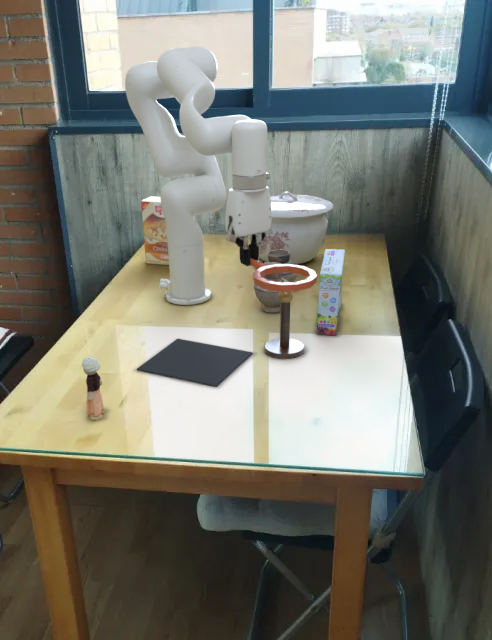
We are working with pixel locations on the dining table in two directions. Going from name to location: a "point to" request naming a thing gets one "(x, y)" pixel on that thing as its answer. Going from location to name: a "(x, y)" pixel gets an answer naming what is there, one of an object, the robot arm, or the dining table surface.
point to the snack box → (330, 291)
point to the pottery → (269, 296)
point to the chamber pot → (296, 226)
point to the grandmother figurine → (93, 389)
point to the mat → (195, 362)
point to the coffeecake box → (154, 231)
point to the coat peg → (284, 333)
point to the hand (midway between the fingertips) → (249, 263)
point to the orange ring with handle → (281, 268)
